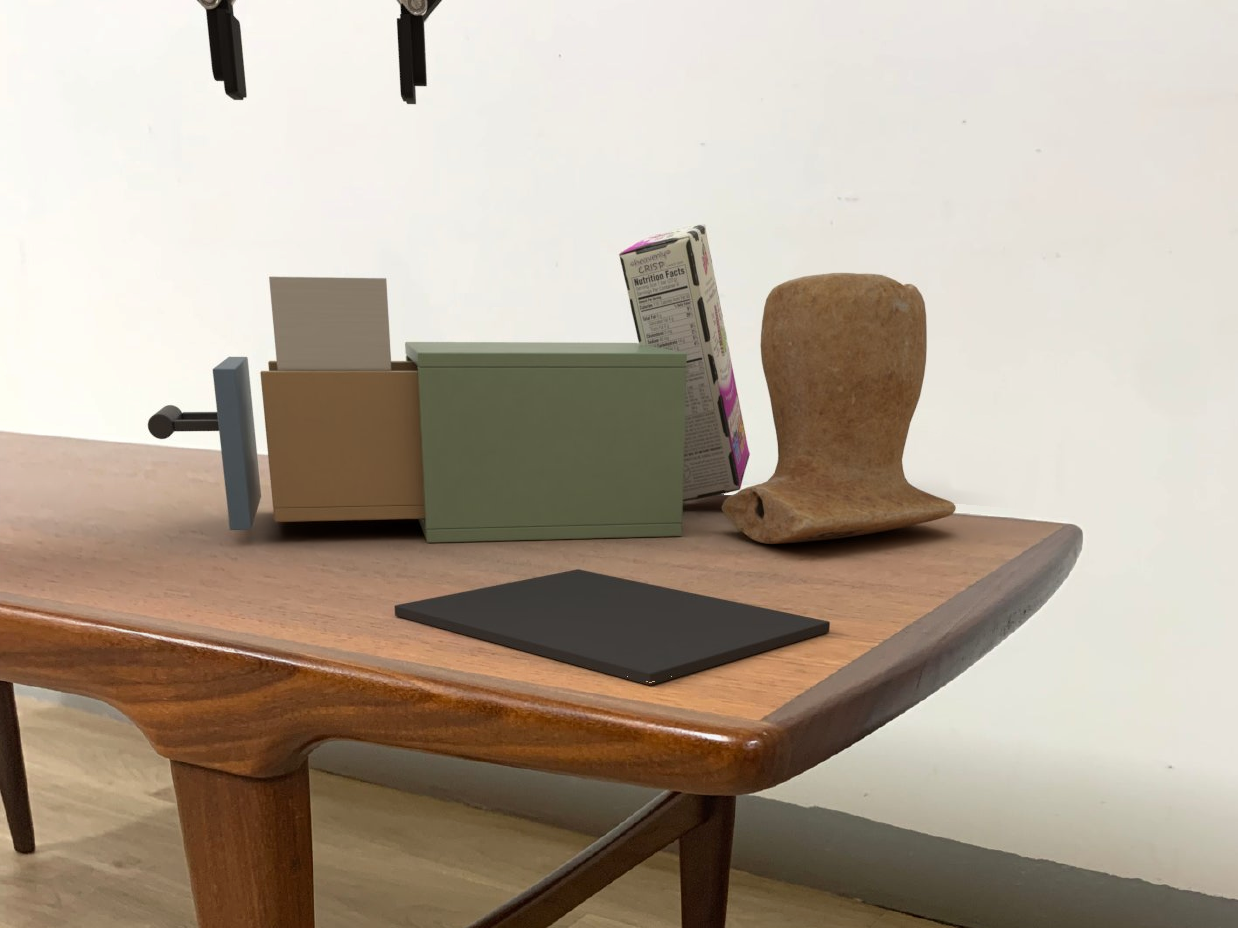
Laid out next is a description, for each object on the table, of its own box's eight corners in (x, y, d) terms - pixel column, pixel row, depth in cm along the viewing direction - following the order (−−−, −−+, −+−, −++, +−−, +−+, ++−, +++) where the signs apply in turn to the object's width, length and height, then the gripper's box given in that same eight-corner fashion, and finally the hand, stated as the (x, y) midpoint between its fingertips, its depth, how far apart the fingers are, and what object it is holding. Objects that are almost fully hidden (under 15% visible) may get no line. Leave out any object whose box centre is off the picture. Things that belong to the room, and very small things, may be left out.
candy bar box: (686, 471, 98) (639, 238, 91) (751, 457, 97) (708, 221, 90) (669, 506, 89) (615, 249, 81) (741, 492, 87) (692, 230, 80)
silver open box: (289, 505, 76) (268, 276, 72) (293, 483, 85) (275, 276, 80) (399, 503, 78) (386, 278, 73) (392, 482, 86) (380, 278, 81)
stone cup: (842, 510, 90) (860, 274, 84) (978, 535, 81) (1008, 275, 75) (671, 530, 82) (677, 271, 76) (802, 561, 73) (820, 270, 67)
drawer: (153, 532, 74) (131, 368, 70) (176, 499, 85) (158, 356, 82) (481, 524, 78) (475, 368, 74) (462, 493, 89) (456, 357, 85)
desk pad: (394, 615, 60) (393, 605, 60) (577, 578, 68) (577, 569, 68) (650, 686, 50) (650, 673, 50) (829, 632, 58) (830, 621, 58)
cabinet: (427, 543, 77) (417, 352, 73) (413, 506, 89) (404, 341, 85) (682, 536, 80) (687, 353, 76) (635, 502, 92) (637, 342, 88)
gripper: (101, -322, 62) (150, 86, 69) (463, -302, 64) (476, 94, 71) (139, -262, 69) (180, 104, 76) (465, -246, 71) (477, 111, 78)
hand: (323, 99), depth 73 cm, fingers open, 9 cm apart
